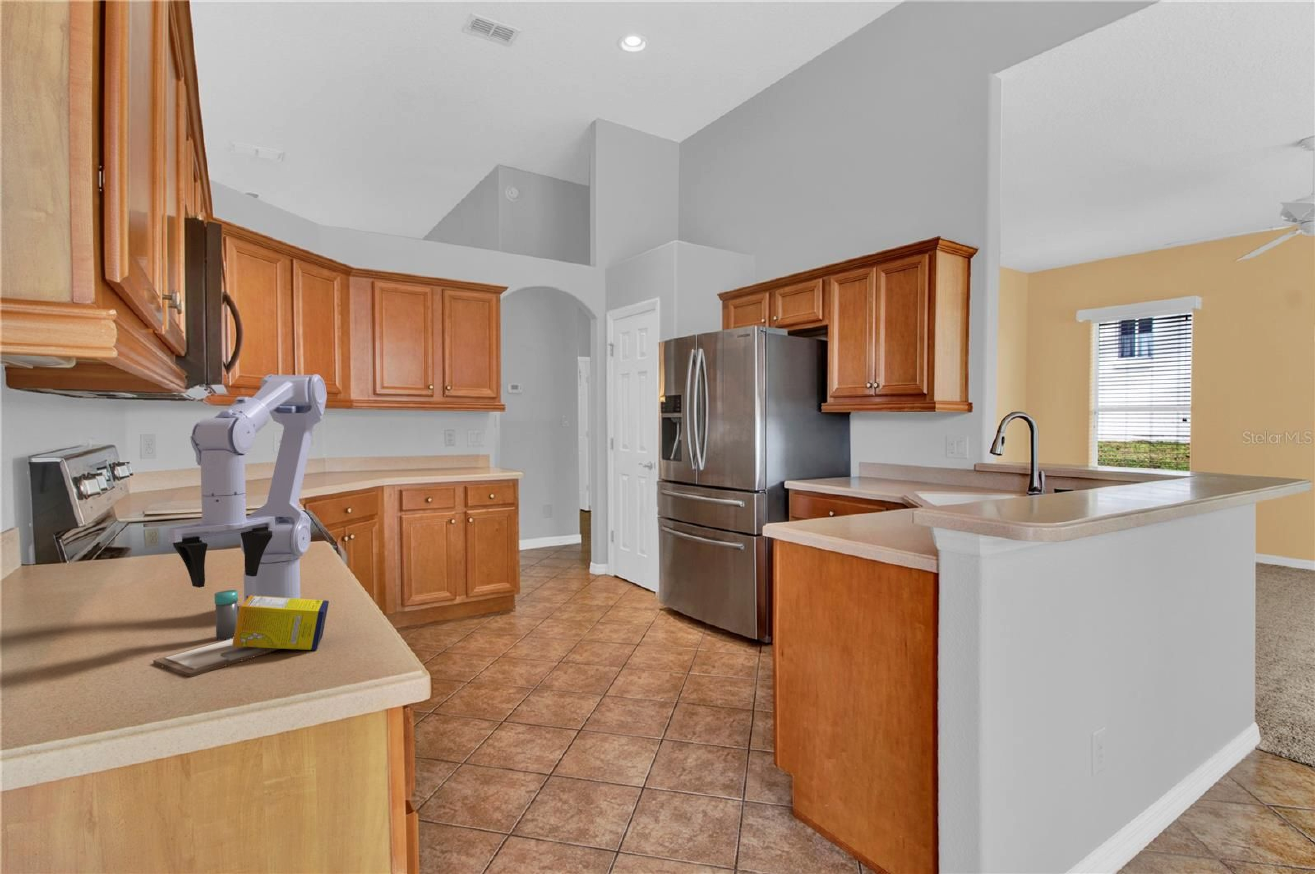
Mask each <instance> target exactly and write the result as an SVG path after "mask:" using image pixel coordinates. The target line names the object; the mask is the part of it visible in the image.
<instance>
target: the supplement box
mask: <svg viewBox="0 0 1315 874" xmlns="http://www.w3.org/2000/svg"><path fill="white" fill-rule="evenodd" d="M329 603H330V602H329V600H327V599H326V600H325V599H324V600H323V599H311V598H309V599H307V598H300V599H296V598H281V597H267V596H253V595H250V596H249V597H248V599H247V600H246V601H245V602H243V604H241V606H240V605H239V606H240V607H239V606H238V610H237V622H236V628H235V633H234V638H233V644H232V646H233V647H258V648H280V649H279V650H281V649H283V650H284V649H285V650H309V651H311V650H313V651H317V650H318V649H319V645H320V643H321V640H322V638H323V636H324V631H325V630H324V629H325V625H326V620H327V619H326V618H327V614H328V613H327V612H328V609H329Z"/></svg>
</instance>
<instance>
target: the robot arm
mask: <svg viewBox="0 0 1315 874" xmlns="http://www.w3.org/2000/svg"><path fill="white" fill-rule="evenodd" d="M327 398H328V394H327V387H326V383H325V381H324V378H323V377H321V375H319V374H318V373H316V374H276V375H275V374H272V373H270V374H267V375H265V377H263V378H261V381H260V388H259V390H258V391H257V392H256V393H255V394H254V395H253V396H252V397H250V396H238V397H236V398H235V399H234V402H233V403H232V404H230V405H229V406H228V407H226V408H225V409H224V408H223V409H222V410H221V411H220V413H218V414H217V415H216V416H214V417H205V418H203V419H201V420H200V421H198V422H196V424H194V426H193V428H192V432H191V435H190V444H191V447H192V449H193V451H194V453H195V462H196V463H197V466H200V485H201V486H200V490H201V491H200V493H201V494H200V495H201V496H200V497H201V523H196V524H190V525H184V526H183V525H182V526H179V527H171V528H167V542H168V543H172V545H173V548H174V549H175V551H176V552H177V554H178V555H179V556H180V558H181V560H182V561H183V563H184V565H185V567H186V569H187V571H188V575H189V577H190V580H191V581H190V582H191V585H192V587H194V588H203V587H205V583H206V573H205V571H206V570H205V563H206V554H207V548H208V545H209V544H208V543H206V542H203V540H202V539H205V538H211V537H212V538H213V537H218V536H225V535H226V536H227V535H232V534H240V540H239V541H240V544H239V545H240V549H241V551H242V553H243V555H244V571H243V601H244V602H245V601H246V600H247V599H248V597H249V596H250V595H253V596H267V597H281V598H296V599H301V574H300V573H301V567H300V566H301V564H300V563H301V562H300V559H301V558H302V557H303V556H304V555H305V553H306V552H307V551H308V550H309V548H310V545H311V540H312V539H311V537H312V535H311V523H312V520H311V518H310V516H309V515H308V514H307V513H306V512H305V511H303V510H302V509H301V508H300V507H298V506H299V502H300V497H301V492H302V488H303V484H304V483H303V481H304V477H305V472H306V468H307V464H308V459H309V453H310V449H311V444H312V438H313V435H314V429H315V425H317V424H318V423H320V422H321V421H322V420H323V417H324V414H325V413H324V412H325V408H326V403H327ZM270 416H271V418H272V421H274V422H276V423H278V424H279V425H282V426H283V431H282V436H281V439H280V444H279V449H278V452H277V457H276V461H275V465H274V468H273V469H274V470H273V474H272V479H271V482H270V487H269V491H268V496H267V501H266V503H265V504H264V505H262V506H261V507H259V508H257V509H256V510H254V511H253V512H251V513H250V514H249V517H247V502H246V501H247V499H246V498H247V497H246V496H247V494H246V490H247V488H246V453H249V452H250V451H251V449H252V446H253V442H254V439H255V438H256V435H257V433H258V432H259V431H260V430H261V429H263V428H264V427H265V426H266V425H267V424H268V423H269V421H270ZM244 602H243V603H244ZM241 605H242V604H241ZM241 605H240V604H239V606H238V608H239V607H240V606H241Z"/></svg>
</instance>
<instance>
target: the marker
mask: <svg viewBox="0 0 1315 874" xmlns="http://www.w3.org/2000/svg"><path fill="white" fill-rule="evenodd" d="M238 596H239V593H238V590H237V589H235V590H234V589H229V590H222V591H221V590H220V591H217V592H215V593H214V605H215V637H216V640H217V639H221V640H220V641H223V640H222V639H226V640H227V639H230V638H233V637H234V633H235V628H236V622H237V617H238V601H239V597H238Z"/></svg>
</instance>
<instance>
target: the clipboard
mask: <svg viewBox="0 0 1315 874" xmlns="http://www.w3.org/2000/svg"><path fill="white" fill-rule="evenodd" d="M232 644H233V638H231V639H226V640H219V641H217V642H214V643H209V644H206V645H203V646H199V647H194V648H192V649H189V650H185V651H181V652H177V653H173V654H171V655H167V656H166V655H165V656H164V657H160V658H156V659H153V660H152V661H153V662H152V663H153V665H156V666H158V665H160V666H159V667H161V666H163V667H162V668H164V669H166V670H169V671H171V672H174V671H175V673H178V674H180V675H182V674H183V676H185V677H187V678H192V677H195V676H199V675H202V674H205V673H208V672H211V671H210V670H212V671H215V670H218V669H221V668H223V667H222V666H224V667H226V666H225V665H228V666H231V665H234V664H236V662H237V663H240V662H242V661H241V660H244V661H246V659H247V660H250V659H252V658H251V657H253V656H256V657H259V655H260V656H262V655H261V654H263V655H265V654H264V653H266V654H268V653H267V652H269V653H271V652H270V651H272V652H276V651H278V650H277V649H279V650H281V649H280V648H258V647H233V646H232ZM275 650H276V651H275ZM249 658H250V659H249ZM253 658H254V657H253ZM239 661H240V662H239ZM233 663H234V664H233ZM220 667H221V668H220ZM217 668H218V669H217ZM214 669H215V670H214Z"/></svg>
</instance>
